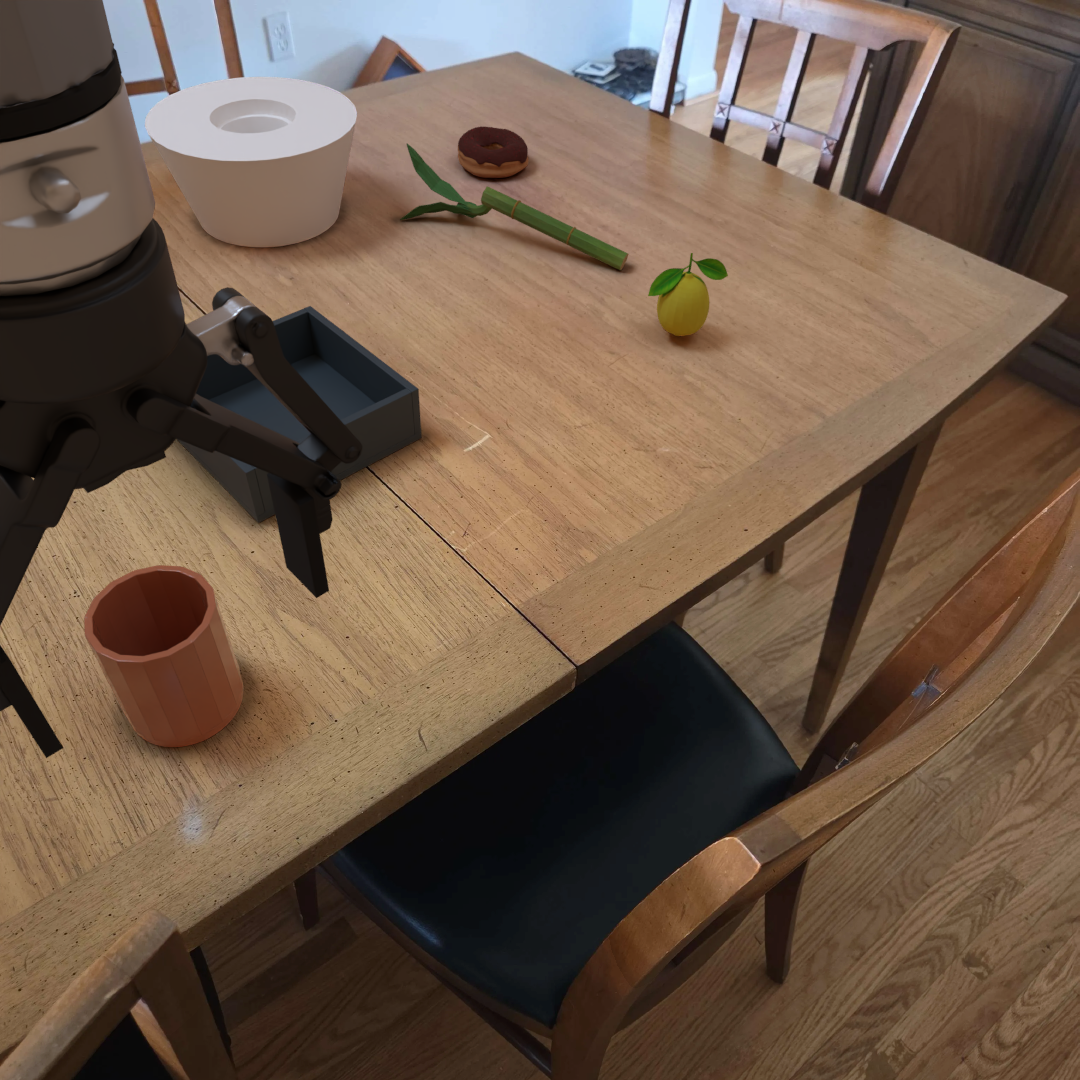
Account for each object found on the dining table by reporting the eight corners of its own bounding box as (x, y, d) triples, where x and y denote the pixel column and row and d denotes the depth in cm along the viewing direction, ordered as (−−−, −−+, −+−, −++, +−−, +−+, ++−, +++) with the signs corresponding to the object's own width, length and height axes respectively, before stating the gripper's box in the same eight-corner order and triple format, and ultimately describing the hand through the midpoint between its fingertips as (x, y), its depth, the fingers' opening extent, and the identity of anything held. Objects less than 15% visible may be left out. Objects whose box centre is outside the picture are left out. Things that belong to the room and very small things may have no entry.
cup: (161, 768, 63) (119, 684, 56) (108, 694, 67) (62, 606, 60) (264, 703, 67) (238, 616, 60) (209, 636, 71) (177, 547, 64)
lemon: (716, 330, 103) (733, 247, 96) (698, 357, 99) (715, 273, 92) (660, 313, 105) (672, 231, 97) (640, 339, 101) (652, 256, 94)
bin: (258, 523, 79) (245, 473, 75) (160, 422, 88) (143, 372, 84) (421, 437, 88) (418, 388, 84) (317, 354, 97) (310, 305, 92)
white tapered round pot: (300, 154, 129) (287, 62, 120) (404, 221, 117) (398, 124, 108) (135, 204, 117) (107, 106, 108) (233, 284, 105) (210, 181, 96)
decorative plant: (615, 267, 107) (390, 159, 110) (600, 318, 114) (389, 215, 117) (636, 237, 110) (416, 133, 113) (620, 288, 117) (414, 188, 120)
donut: (522, 186, 125) (522, 156, 122) (450, 178, 126) (449, 148, 123) (533, 154, 132) (534, 125, 129) (465, 146, 133) (465, 118, 130)
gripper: (-464, 477, 20) (-63, 880, 36) (429, 169, 33) (441, 567, 48) (-516, 324, 24) (-131, 751, 39) (309, 99, 36) (356, 490, 52)
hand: (185, 650), depth 44 cm, fingers open, 13 cm apart
